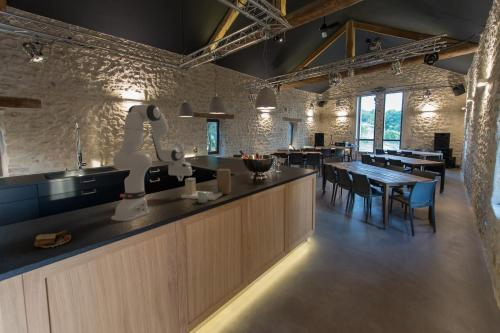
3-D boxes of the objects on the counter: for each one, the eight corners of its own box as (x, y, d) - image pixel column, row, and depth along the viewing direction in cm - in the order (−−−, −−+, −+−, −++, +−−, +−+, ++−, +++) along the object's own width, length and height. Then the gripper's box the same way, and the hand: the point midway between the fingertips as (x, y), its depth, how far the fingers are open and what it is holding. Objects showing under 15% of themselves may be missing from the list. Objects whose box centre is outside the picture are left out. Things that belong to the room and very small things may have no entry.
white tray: (214, 200, 187) (214, 197, 186) (181, 197, 194) (181, 195, 194) (222, 195, 202) (222, 192, 202) (191, 192, 209) (191, 190, 209)
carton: (192, 194, 197) (191, 179, 195) (185, 193, 198) (184, 179, 197) (196, 192, 203) (195, 178, 201) (189, 192, 204) (188, 177, 203)
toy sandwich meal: (68, 245, 114) (67, 235, 114) (31, 252, 108) (29, 241, 108) (73, 235, 125) (72, 226, 125) (39, 240, 119) (38, 231, 119)
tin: (218, 193, 198) (218, 187, 197) (213, 193, 198) (213, 187, 197) (218, 192, 202) (218, 186, 201) (214, 192, 202) (213, 186, 201)
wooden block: (231, 191, 213) (230, 168, 210) (228, 194, 203) (228, 170, 201) (219, 191, 214) (219, 168, 211) (217, 194, 204) (216, 170, 202)
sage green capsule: (204, 203, 180) (204, 193, 179) (196, 202, 181) (195, 193, 180) (209, 200, 186) (208, 191, 185) (200, 199, 188) (200, 190, 187)
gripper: (166, 164, 199) (167, 180, 201) (188, 164, 194) (189, 182, 196) (170, 163, 205) (171, 179, 207) (192, 163, 200) (193, 180, 202)
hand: (180, 180), depth 202 cm, fingers closed
